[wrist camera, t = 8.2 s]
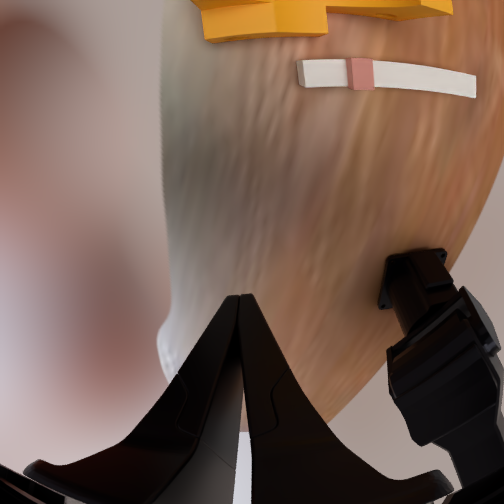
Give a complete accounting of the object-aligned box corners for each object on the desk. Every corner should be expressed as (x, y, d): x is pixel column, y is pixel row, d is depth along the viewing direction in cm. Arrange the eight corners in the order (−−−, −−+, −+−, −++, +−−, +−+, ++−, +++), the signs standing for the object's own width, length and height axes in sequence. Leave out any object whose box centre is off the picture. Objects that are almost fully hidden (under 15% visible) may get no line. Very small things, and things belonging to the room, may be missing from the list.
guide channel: (456, 93, 15) (484, 102, 12) (299, 86, 16) (309, 91, 13) (445, -20, 9) (472, -26, 6) (278, -44, 10) (283, -63, 7)
